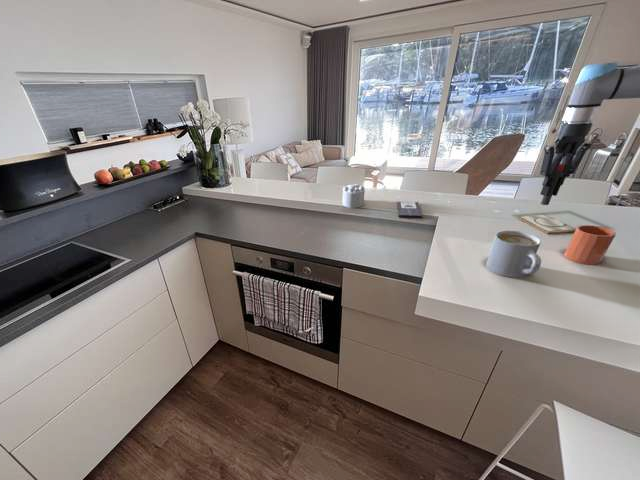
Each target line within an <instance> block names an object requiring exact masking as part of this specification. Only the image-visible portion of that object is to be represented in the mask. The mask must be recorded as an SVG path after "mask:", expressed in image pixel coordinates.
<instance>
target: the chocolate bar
mask: <svg viewBox="0 0 640 480" xmlns="http://www.w3.org/2000/svg"><path fill="white" fill-rule="evenodd" d="M396 203H397V205H396V206H397V213H398V214H397V215H398V218H411V219H412V218H415V219H416V218H418V219H422V218H423V214H422V211H421V207H420V205H419V201H397V202H396Z"/></svg>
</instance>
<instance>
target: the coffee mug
mask: <svg viewBox="0 0 640 480" xmlns="http://www.w3.org/2000/svg"><path fill="white" fill-rule="evenodd" d="M540 245H541V239H540V238H539V237H538V236H536V235H535V234H532V233H528V232H524V231H519V230H501V231H498V232H497V233H495V236H494V239H493V242H492V245H491V249H490V251H489V254H488V257H487V260H486V263H485V267H486V268H487V270H489V271H490V272H491V273H493V274H495V275H499V276H501V277H505V278H510V279H511V278H512V279H519V278H524V277H526V276H527V275H532V274H535V273H537V272H538V271H539V269H540V268H541V265H542V259H541V256H540V255H539V254H537V253H538V250H539V249H540Z"/></svg>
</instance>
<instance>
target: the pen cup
mask: <svg viewBox="0 0 640 480" xmlns="http://www.w3.org/2000/svg"><path fill="white" fill-rule="evenodd" d="M575 228H576V230H575V232H573V235H572V237H571V239H570V241H569V243H568V245H567V247H566V250H565V251H564V254H563V256H564V257H565V258H566V259H567V260H569V261H571V262H575V263H578V264H582V265H588V266H589V265H592V266H593V265H594V266H595V265H598V264H600V263H601V262H602V260H603V258H604V257H605V255H606V253H607V251H608V249H609V248H610V246H611V244H612V242H613V240H614V239H615V237H616V234H617V233H616V232H615V231H614V230H613V229H609V228H608V227H604V226H599V225H594V224H593V225H591V224H583V225H578V226H576V227H575Z"/></svg>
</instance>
